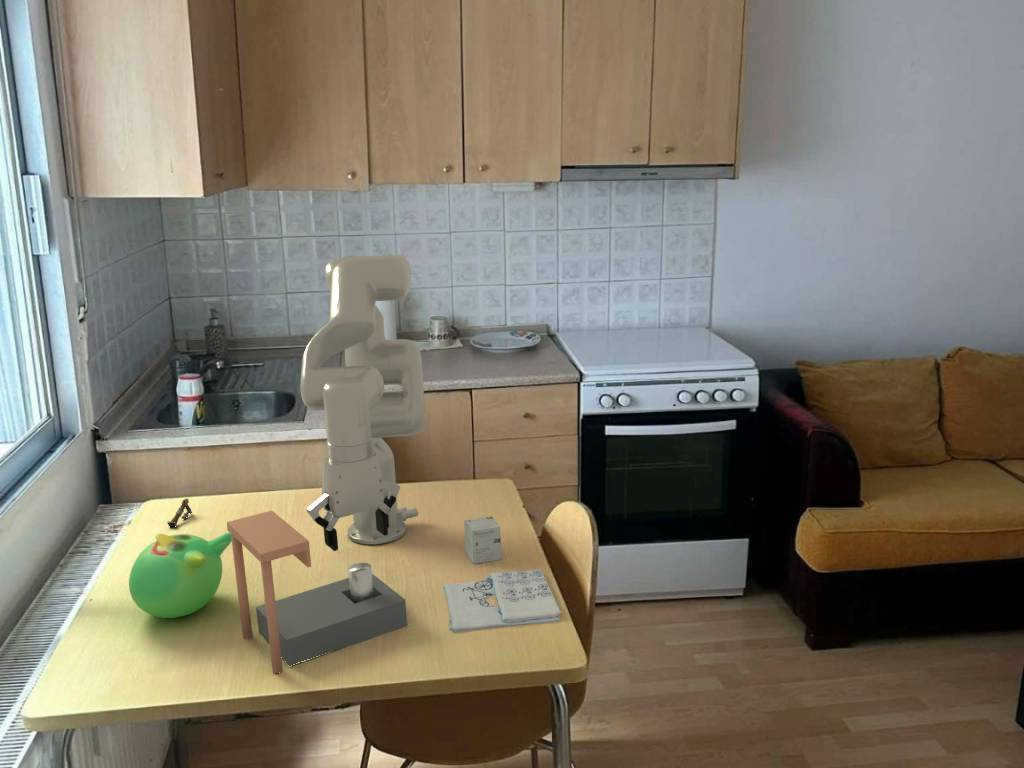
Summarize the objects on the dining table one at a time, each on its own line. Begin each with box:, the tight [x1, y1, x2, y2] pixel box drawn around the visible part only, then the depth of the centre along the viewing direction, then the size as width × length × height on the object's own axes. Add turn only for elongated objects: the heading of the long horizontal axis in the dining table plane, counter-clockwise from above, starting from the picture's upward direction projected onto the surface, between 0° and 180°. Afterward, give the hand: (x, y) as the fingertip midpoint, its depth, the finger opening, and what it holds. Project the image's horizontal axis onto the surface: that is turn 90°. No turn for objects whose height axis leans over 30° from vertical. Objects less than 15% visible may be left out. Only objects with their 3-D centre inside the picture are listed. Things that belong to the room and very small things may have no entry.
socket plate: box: [255, 573, 408, 667], centre depth 167 cm, size 22×14×5 cm, turn 125°
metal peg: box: [347, 562, 374, 604], centre depth 170 cm, size 4×4×10 cm
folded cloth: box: [442, 569, 562, 633], centre depth 175 cm, size 19×20×2 cm
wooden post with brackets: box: [166, 497, 193, 528], centre depth 216 cm, size 2×8×4 cm, turn 167°
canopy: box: [226, 510, 312, 674], centre depth 159 cm, size 8×16×22 cm, turn 35°
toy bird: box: [128, 531, 232, 619], centre depth 174 cm, size 18×17×15 cm
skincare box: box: [464, 516, 502, 565], centre depth 193 cm, size 6×6×7 cm
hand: (357, 540), depth 167 cm, fingers open, 9 cm apart
